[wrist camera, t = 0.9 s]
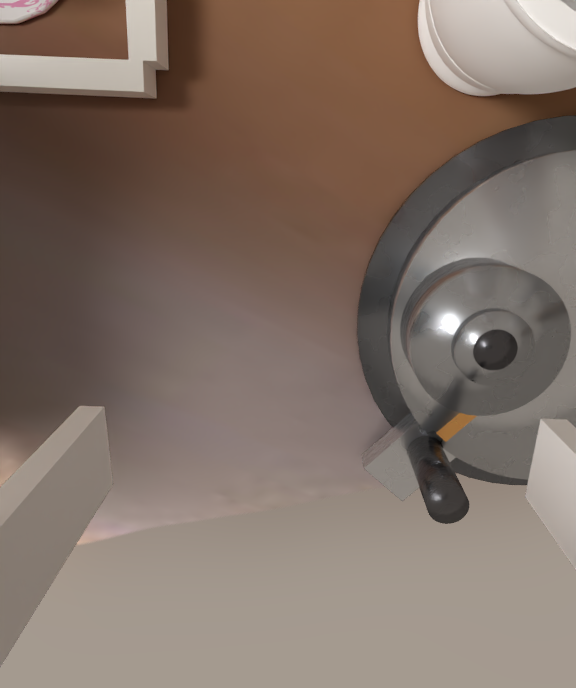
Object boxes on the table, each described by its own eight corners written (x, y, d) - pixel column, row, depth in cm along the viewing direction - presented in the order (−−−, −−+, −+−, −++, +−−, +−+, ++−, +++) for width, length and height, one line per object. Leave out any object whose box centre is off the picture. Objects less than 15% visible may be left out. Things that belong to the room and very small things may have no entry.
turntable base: (342, 470, 39) (343, 474, 38) (376, 106, 30) (377, 105, 30) (679, 491, 38) (683, 495, 38) (807, 125, 30) (816, 124, 29)
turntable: (358, 483, 38) (370, 561, 30) (394, 141, 30) (424, 128, 22) (657, 502, 38) (749, 587, 30) (774, 158, 30) (939, 151, 22)
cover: (392, 387, 33) (404, 418, 29) (409, 253, 30) (425, 265, 26) (527, 395, 33) (559, 427, 29) (556, 261, 30) (597, 274, 26)
